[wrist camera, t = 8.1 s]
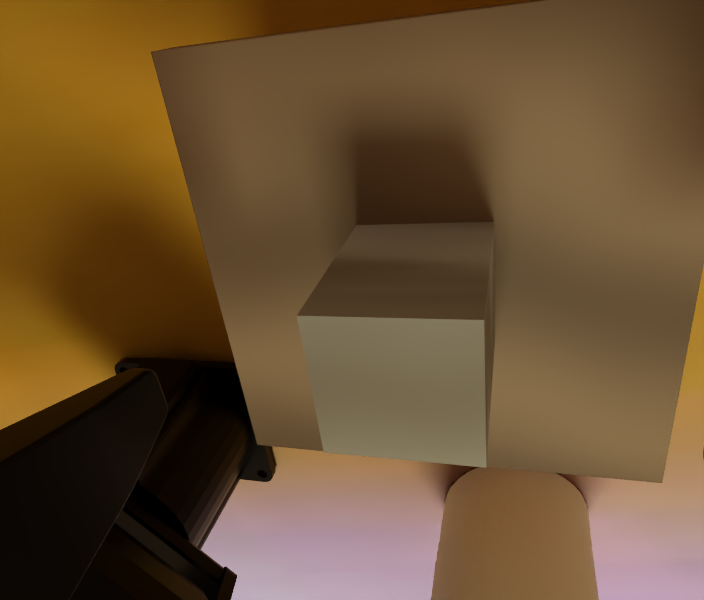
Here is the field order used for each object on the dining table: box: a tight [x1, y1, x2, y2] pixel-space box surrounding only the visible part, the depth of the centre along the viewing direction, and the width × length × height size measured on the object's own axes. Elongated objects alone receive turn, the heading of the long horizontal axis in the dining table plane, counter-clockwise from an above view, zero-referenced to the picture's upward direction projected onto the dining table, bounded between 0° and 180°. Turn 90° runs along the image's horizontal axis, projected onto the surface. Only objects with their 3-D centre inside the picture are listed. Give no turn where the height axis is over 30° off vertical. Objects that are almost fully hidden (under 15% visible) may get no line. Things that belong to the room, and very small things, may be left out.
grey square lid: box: [151, 0, 704, 483], centre depth 12 cm, size 11×11×5 cm
